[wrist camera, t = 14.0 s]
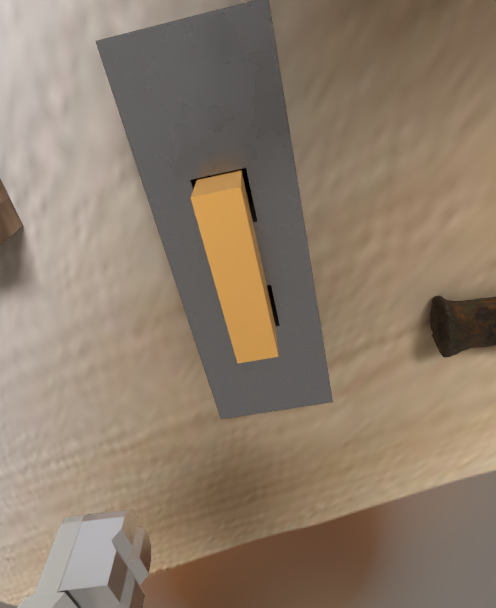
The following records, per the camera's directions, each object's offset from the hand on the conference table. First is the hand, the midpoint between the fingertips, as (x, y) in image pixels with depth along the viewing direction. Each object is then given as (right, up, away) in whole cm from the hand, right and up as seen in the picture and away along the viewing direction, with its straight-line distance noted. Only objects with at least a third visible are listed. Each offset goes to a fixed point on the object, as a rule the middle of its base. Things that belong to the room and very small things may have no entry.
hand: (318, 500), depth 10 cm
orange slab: (-2, +9, +21) cm, 23 cm away
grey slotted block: (-2, +10, +21) cm, 24 cm away
